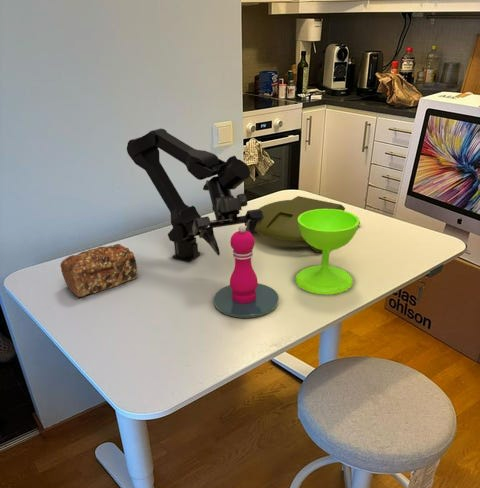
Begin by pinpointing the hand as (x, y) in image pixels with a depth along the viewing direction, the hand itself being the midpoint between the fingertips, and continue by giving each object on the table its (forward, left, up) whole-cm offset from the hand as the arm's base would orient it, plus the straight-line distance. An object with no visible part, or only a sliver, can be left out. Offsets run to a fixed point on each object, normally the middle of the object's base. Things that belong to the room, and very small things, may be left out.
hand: (235, 252), depth 130 cm
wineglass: (+20, +15, -11) cm, 27 cm away
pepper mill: (+5, -5, -10) cm, 12 cm away
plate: (+6, -5, -11) cm, 13 cm away
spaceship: (0, +43, -11) cm, 45 cm away
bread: (-36, -14, -11) cm, 41 cm away
